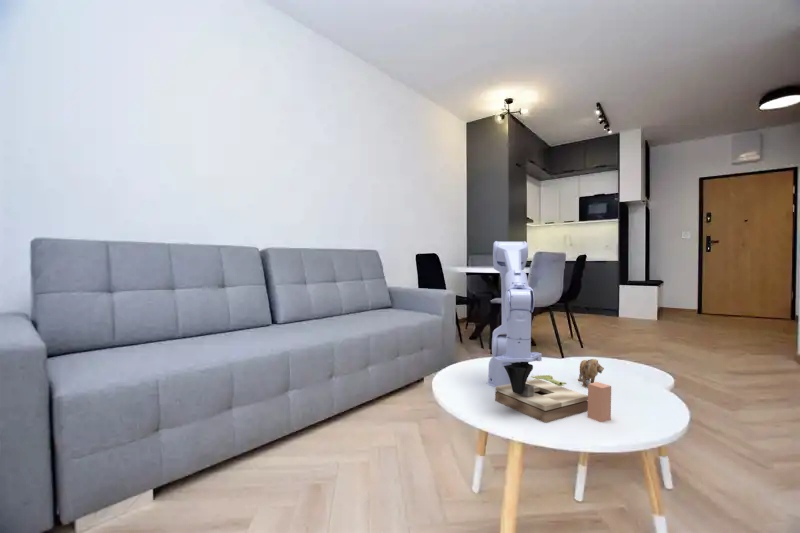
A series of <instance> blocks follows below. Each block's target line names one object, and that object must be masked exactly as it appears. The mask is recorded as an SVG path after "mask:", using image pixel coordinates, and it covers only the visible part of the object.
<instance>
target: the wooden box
mask: <svg viewBox="0 0 800 533" xmlns="http://www.w3.org/2000/svg"><path fill="white" fill-rule="evenodd" d="M494 393H495V395H494V397H495V398H494V401H495V402H498V403H500V404H501V405H504V406H506V407H508V408H510V409H512V410H515V411H517V412H520V413H522V414H525V415H526V416H529V417H531V418H533V419H535V420H538V421H540V422H542V423H544V424H545V423H551V422H554V421H557V420H562V419H566V418H568V417H569V418H570V417H572V416H575V415H580V414H583V413H586V412H587V413H588V400H587V401H583V402H579V403H575V404H571V405H567V406H563V407H559V408H555V409H551V410H547V411H544V410H542V409H539V408H537V407H535V406H532V405H530V404H527V403H525V402H522V401H520V400H518V399H515V398H513V397H510V396H508V395H505V394H503V393H501V392H498V391H496V390H495V392H494ZM534 393H537V394H540V395H546V394H547V393H544V392H541V391H537V392H534Z"/></svg>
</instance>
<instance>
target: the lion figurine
mask: <svg viewBox="0 0 800 533" xmlns="http://www.w3.org/2000/svg"><path fill="white" fill-rule="evenodd" d="M604 370H605V367H603V366H602V365H601V364H600V363H599V360H597V359H594V358H592V359H591V358H590V359H584V360H581V361H580V364H579V377H578V379H577V381H578V382H582V387H583V388H588V384H587V380H588V381H590V383H595V380H596V379H595V378H596V377H597V376H598V375H599V374H602V373H603V371H604ZM598 373H599V374H598Z"/></svg>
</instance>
